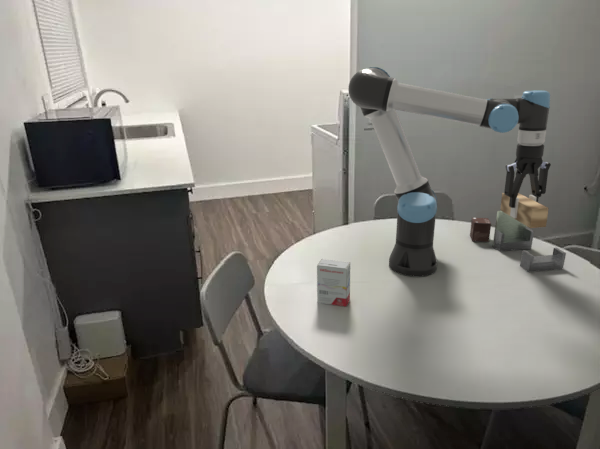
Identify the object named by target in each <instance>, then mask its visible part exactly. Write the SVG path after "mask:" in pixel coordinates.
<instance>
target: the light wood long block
mask: <svg viewBox="0 0 600 449" xmlns="http://www.w3.org/2000/svg"><path fill="white" fill-rule="evenodd" d="M517 198H519V203H518V211H517V218H514V219H516V220H517V221H519V222H521V223H522V224H524V225H526V227H527V228H529V229H536V228H538V229H539V228H546V227H547V223H548V216H549V207H548V206H545V205H544V204H542V203H539V201H538V202H536V201H534V200H532V199H530V198H529V196H528V197H527V196H525V195H523V194H521V193H518V196H517ZM500 199H501V200H500V209H499V211H503V212H504V213H506V214H508V215H509V216H510V212H511V207H509V201H510V197H508V196H507V195H505V194H504V192H501V198H500ZM512 218H513V217H512Z"/></svg>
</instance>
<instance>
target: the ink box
mask: <svg viewBox="0 0 600 449" xmlns="http://www.w3.org/2000/svg"><path fill="white" fill-rule="evenodd" d="M316 281H317V282H316V287H317V288H316V292H317V295H316V297H317V298H316V300H317V303H318V304H324V305H325V304H326V305H333V306H339V307H348V304H349V302H350V300H351V262H350V261H345V260H344V261H343V260H336V259H335V260H333V259H327V258H321V260H320V261H318V264H317V265H316Z"/></svg>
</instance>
